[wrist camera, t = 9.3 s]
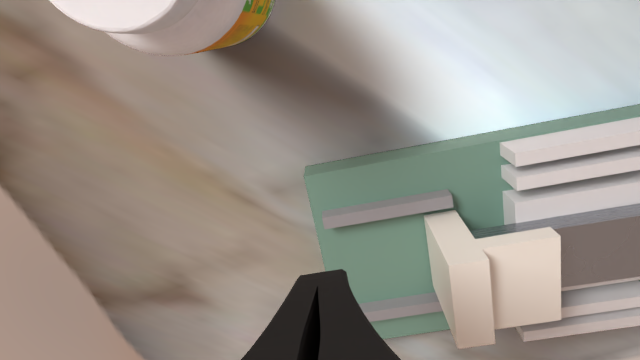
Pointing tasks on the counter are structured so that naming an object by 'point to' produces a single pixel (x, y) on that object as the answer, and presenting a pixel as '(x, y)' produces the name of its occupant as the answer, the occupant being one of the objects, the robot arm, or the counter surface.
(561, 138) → the heatsink board
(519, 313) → the clip
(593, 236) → the strap
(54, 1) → the supplement bottle
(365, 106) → the counter surface
